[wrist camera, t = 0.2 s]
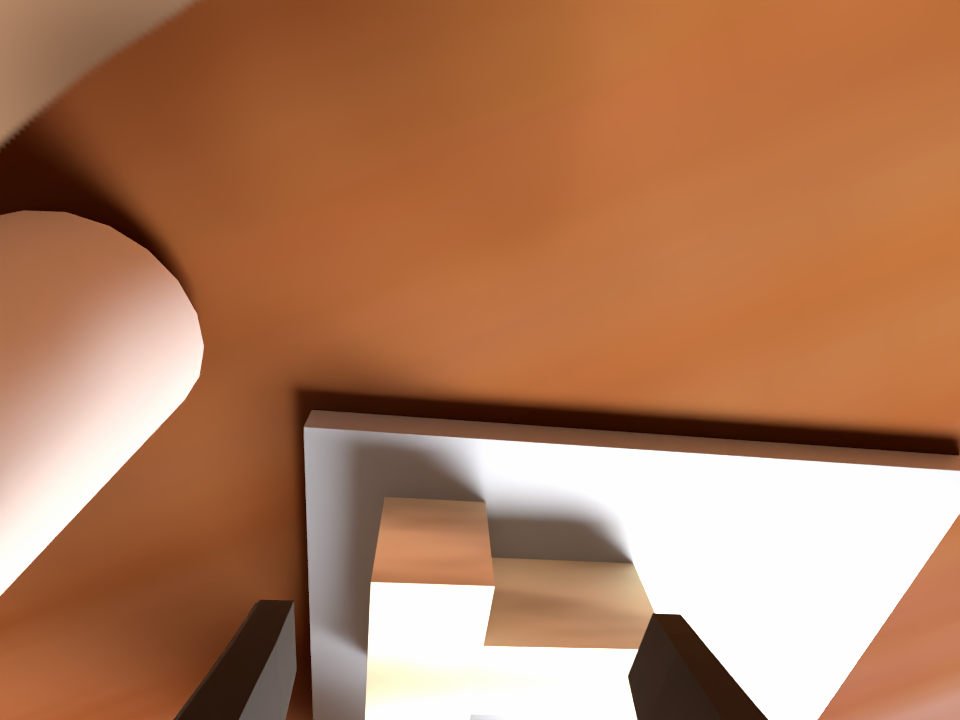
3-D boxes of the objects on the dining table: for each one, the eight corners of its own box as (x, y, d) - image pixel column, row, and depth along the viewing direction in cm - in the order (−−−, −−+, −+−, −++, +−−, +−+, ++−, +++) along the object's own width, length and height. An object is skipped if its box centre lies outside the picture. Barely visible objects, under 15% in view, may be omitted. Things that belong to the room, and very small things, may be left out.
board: (800, 702, 30) (813, 724, 28) (318, 698, 26) (313, 722, 25) (961, 455, 22) (987, 472, 21) (311, 409, 19) (303, 427, 18)
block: (598, 664, 25) (624, 756, 21) (375, 661, 24) (363, 757, 20) (652, 510, 21) (695, 592, 17) (384, 497, 19) (370, 581, 16)
